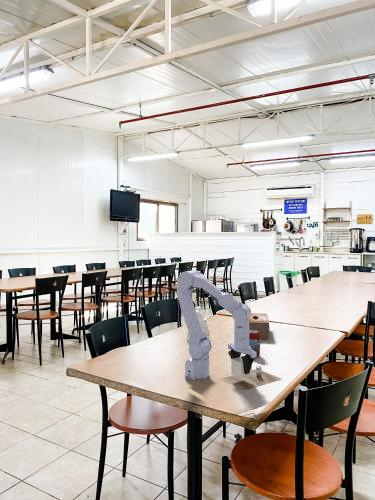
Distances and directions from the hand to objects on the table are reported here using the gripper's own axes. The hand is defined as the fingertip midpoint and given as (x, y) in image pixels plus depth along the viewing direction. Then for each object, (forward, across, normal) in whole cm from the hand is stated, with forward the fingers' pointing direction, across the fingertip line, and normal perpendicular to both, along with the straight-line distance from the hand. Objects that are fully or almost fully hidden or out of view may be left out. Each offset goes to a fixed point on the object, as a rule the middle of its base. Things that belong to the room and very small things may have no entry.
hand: (241, 371), depth 151 cm
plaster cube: (+1, 0, 0) cm, 1 cm away
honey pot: (+6, +64, -24) cm, 69 cm away
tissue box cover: (+6, +55, -59) cm, 81 cm away
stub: (+4, 0, -9) cm, 10 cm away
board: (+6, 0, -5) cm, 7 cm away
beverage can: (+6, +25, -29) cm, 39 cm away
